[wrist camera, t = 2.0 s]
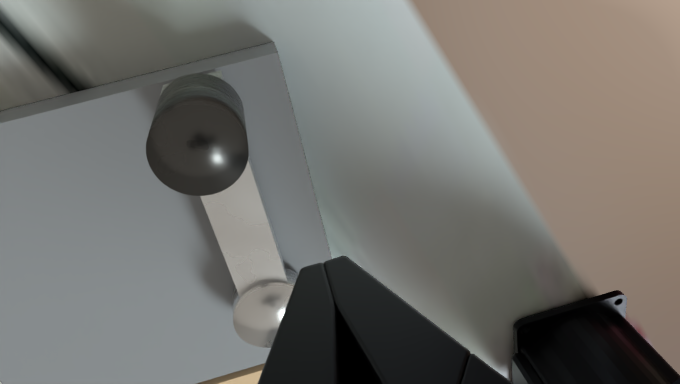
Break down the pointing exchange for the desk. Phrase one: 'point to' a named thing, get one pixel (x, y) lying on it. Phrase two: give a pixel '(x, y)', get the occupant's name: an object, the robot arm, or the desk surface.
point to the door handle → (223, 193)
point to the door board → (136, 235)
